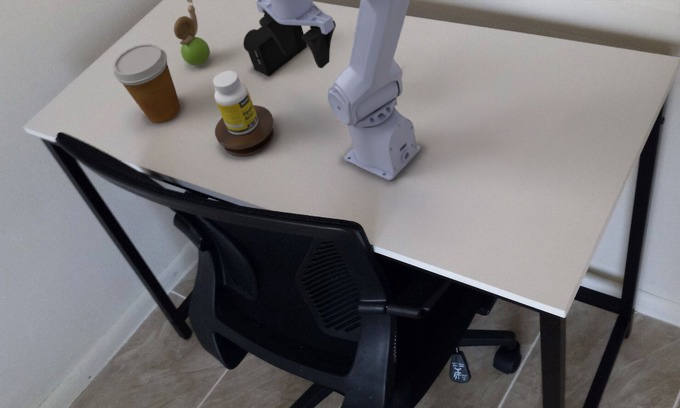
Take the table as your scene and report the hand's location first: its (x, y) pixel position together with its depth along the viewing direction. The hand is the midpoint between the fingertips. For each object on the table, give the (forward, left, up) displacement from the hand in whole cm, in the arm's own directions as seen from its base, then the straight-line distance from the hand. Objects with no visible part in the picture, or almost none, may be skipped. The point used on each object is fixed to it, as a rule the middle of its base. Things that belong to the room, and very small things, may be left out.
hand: (306, 57), depth 109 cm
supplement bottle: (+6, +12, -8) cm, 15 cm away
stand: (+6, +12, -10) cm, 17 cm away
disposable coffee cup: (+26, +15, -11) cm, 32 cm away
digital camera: (+17, -7, -11) cm, 21 cm away
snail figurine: (+31, +1, -11) cm, 33 cm away
